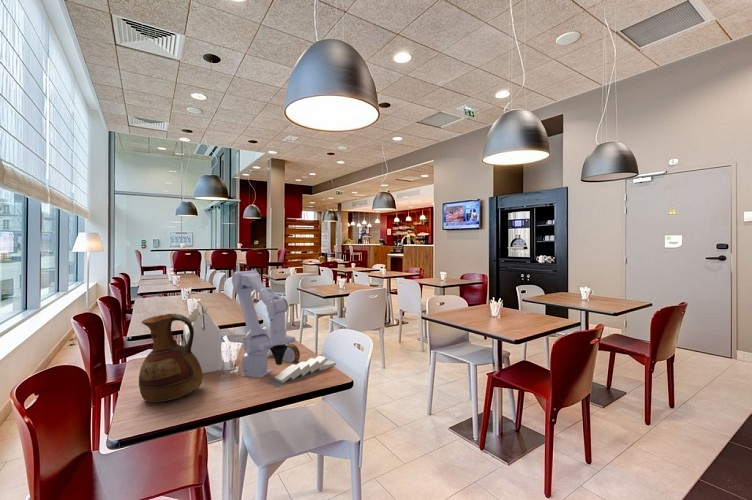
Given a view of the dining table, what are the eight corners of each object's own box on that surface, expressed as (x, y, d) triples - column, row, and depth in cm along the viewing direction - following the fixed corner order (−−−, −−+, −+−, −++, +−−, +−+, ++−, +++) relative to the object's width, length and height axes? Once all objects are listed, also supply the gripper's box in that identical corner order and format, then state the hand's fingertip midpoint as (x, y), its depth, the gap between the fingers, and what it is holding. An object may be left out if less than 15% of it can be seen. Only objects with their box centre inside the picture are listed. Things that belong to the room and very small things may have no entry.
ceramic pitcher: (141, 392, 135) (138, 312, 134) (201, 381, 145) (198, 306, 144) (137, 413, 118) (133, 322, 117) (205, 399, 128) (202, 315, 127)
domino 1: (281, 380, 139) (299, 366, 145) (274, 377, 142) (292, 363, 148) (282, 383, 139) (300, 369, 145) (275, 380, 143) (293, 367, 149)
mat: (276, 388, 136) (276, 387, 136) (265, 383, 141) (265, 382, 141) (324, 371, 152) (324, 370, 152) (312, 367, 158) (312, 366, 158)
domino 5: (319, 366, 152) (335, 362, 159) (312, 364, 156) (328, 360, 162) (319, 370, 152) (335, 366, 159) (312, 367, 156) (328, 363, 162)
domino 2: (291, 376, 142) (308, 363, 148) (284, 373, 146) (301, 361, 152) (292, 379, 143) (310, 366, 149) (285, 376, 146) (302, 364, 152)
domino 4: (310, 370, 149) (326, 357, 155) (303, 367, 152) (319, 355, 158) (311, 373, 149) (327, 360, 155) (304, 370, 153) (320, 358, 159)
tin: (300, 363, 164) (300, 344, 164) (295, 365, 161) (295, 346, 161) (277, 357, 172) (277, 340, 172) (272, 359, 169) (271, 342, 169)
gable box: (222, 370, 157) (220, 306, 156) (188, 376, 150) (185, 309, 149) (215, 356, 176) (213, 299, 175) (184, 362, 169) (182, 302, 168)
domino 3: (301, 373, 146) (318, 360, 152) (294, 370, 149) (311, 357, 155) (302, 376, 146) (319, 363, 152) (295, 373, 150) (312, 360, 156)
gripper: (266, 335, 132) (267, 371, 133) (299, 327, 143) (300, 361, 143) (256, 332, 137) (257, 367, 138) (289, 325, 148) (290, 357, 148)
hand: (278, 364), depth 141 cm, fingers closed
